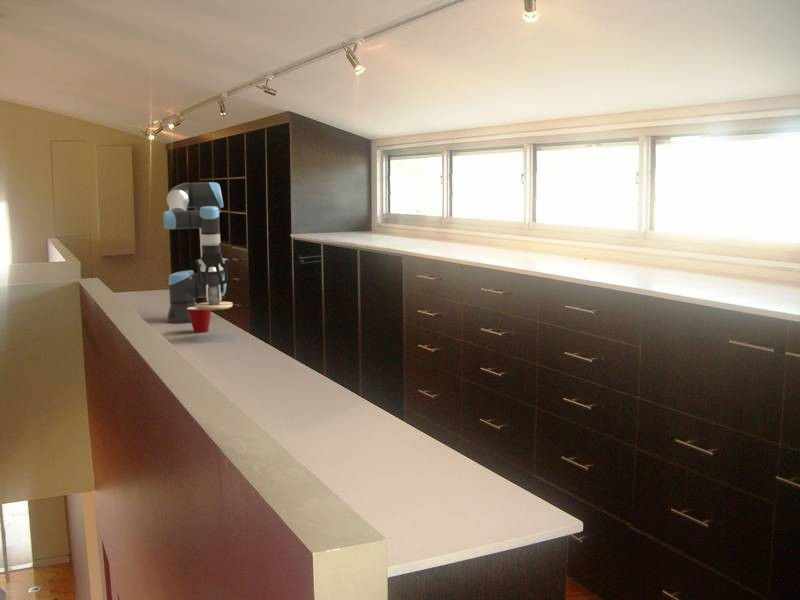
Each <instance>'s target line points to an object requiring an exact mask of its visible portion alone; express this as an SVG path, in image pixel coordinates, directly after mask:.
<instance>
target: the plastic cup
mask: <svg viewBox="0 0 800 600" xmlns="http://www.w3.org/2000/svg"><path fill="white" fill-rule="evenodd" d="M187 309H188V311H189V314H190V318H191V322H190V323H191V326H192V329H193V332H194V333H196V334H203V333H208V332H209V329H210V328H209V327H210V321H211V313H212V310H199V309H196V307H190V308H187Z"/></svg>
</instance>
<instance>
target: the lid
mask: <svg viewBox="0 0 800 600" xmlns="http://www.w3.org/2000/svg"><path fill="white" fill-rule="evenodd" d="M208 297H209V301H205V302H199V303H196V309H199V310H211V311H220V310H226V309H230V308H233V306H234V303H233V302H231V301H223V300H221V301H219V287H209V288H208Z"/></svg>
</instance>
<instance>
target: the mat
mask: <svg viewBox="0 0 800 600" xmlns="http://www.w3.org/2000/svg"><path fill="white" fill-rule="evenodd" d="M236 338H237V333H236V332H229V333H228V332H227V333H226V332H225V333H207V334H197V336H196V339H195V341H194V344H209V343H223V342H224V343H226V342H236V340H237V339H236Z"/></svg>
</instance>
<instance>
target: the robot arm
mask: <svg viewBox="0 0 800 600" xmlns="http://www.w3.org/2000/svg"><path fill="white" fill-rule="evenodd" d="M221 189H222V188H221V186H220V184H219V183H218V182H214V181H213V182H211V181H209V182H208V181H207V182H206V181H205V182H183V183H180V184H178V185H175V186H174V187H172V188H171V189H170V190H169V191H168V192H167V195H166V204H167V206H168V210H165V211H163V214H162V215H163V217H162V218H163V227H164V229H166V230H184V229H185V230H186V229H188V230H189V229H190V230H191V229H199V244H200V245H199V247H200V248H199V249H200V258H199V259H196V260H195V265H196V269H197V270H196V271H197V272H194V270H192V269H191V270H190V269H189V270H182V271H176V272H174V273H171V274H169V276H168V288H169V289H168V290H169V293H168V294H169V308H168V312H167V315H166V321H167V323H169V324H170V323H173V324H186V323H192V322H191V318H190V314H189V311H188V309H187V308H190V307H196V305H197V303H196V299H198V298H200V299H201V298H206V302H209V297H208V288H209V287H219V301H222V297H223V296H225V294H226V291H227V283H228V279H229V278H228V277H229V276H228V264H229V258H224V257H223V256H222V249H221V232H220V213H221V212H222V211H221V208H224V200H223V196H222V195H223V194H222V190H221ZM188 209H193V210H188ZM221 262H222V264H224V265H223V267H222V265H221Z"/></svg>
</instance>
